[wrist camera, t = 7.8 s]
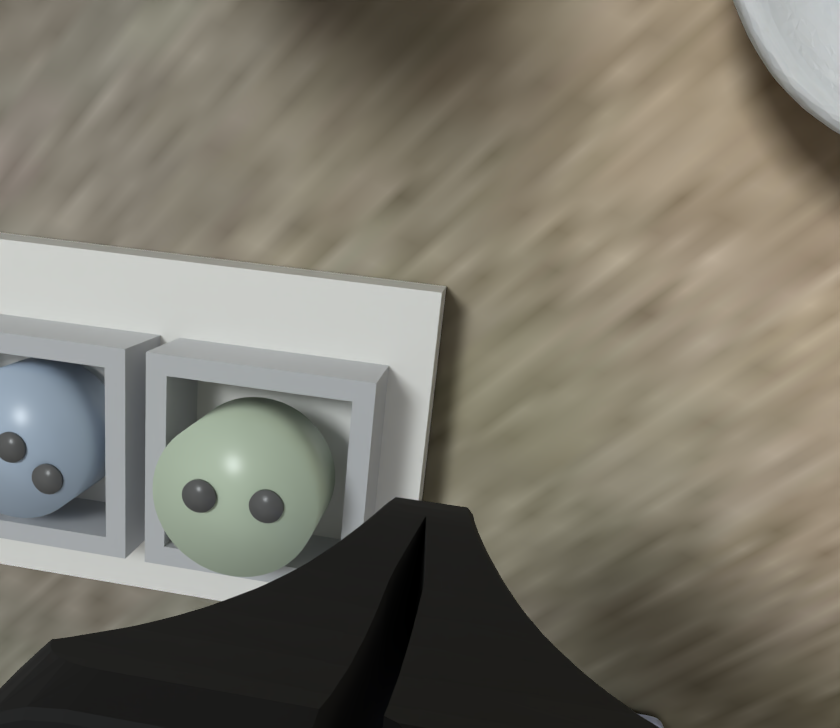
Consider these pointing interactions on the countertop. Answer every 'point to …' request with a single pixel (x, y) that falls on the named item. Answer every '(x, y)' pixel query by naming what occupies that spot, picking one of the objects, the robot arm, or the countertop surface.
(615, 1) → the countertop surface
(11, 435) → the slate three pip button
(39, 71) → the countertop surface
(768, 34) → the spoon rest
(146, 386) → the button panel
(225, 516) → the sage two pip button
